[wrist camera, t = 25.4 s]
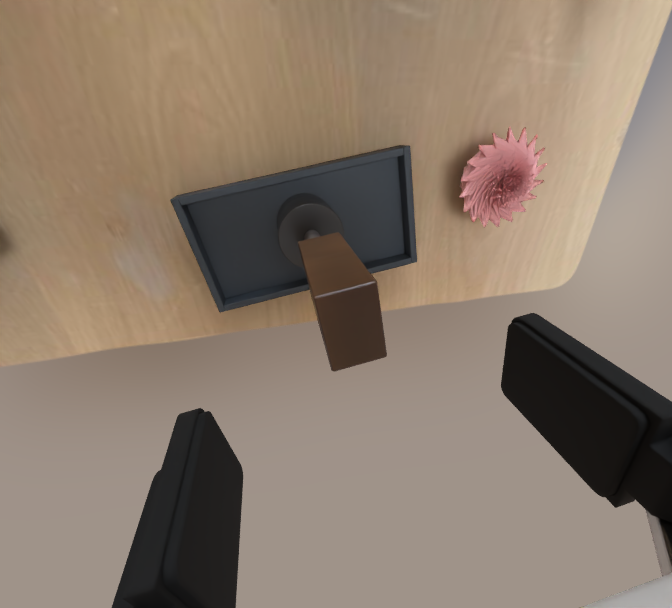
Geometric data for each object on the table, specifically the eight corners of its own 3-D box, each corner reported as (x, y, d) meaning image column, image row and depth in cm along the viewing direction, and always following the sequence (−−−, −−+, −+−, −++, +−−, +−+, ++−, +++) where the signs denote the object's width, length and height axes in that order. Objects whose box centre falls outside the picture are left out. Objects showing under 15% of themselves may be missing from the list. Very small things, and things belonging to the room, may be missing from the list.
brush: (285, 255, 29) (305, 393, 13) (269, 200, 26) (271, 289, 11) (337, 242, 29) (418, 361, 13) (326, 186, 27) (410, 254, 11)
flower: (508, 109, 27) (560, 102, 22) (523, 193, 31) (571, 202, 26) (427, 157, 28) (461, 161, 23) (453, 233, 32) (486, 250, 27)
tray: (222, 302, 30) (219, 312, 28) (177, 195, 25) (169, 199, 23) (408, 255, 32) (417, 262, 30) (400, 145, 27) (410, 145, 25)
